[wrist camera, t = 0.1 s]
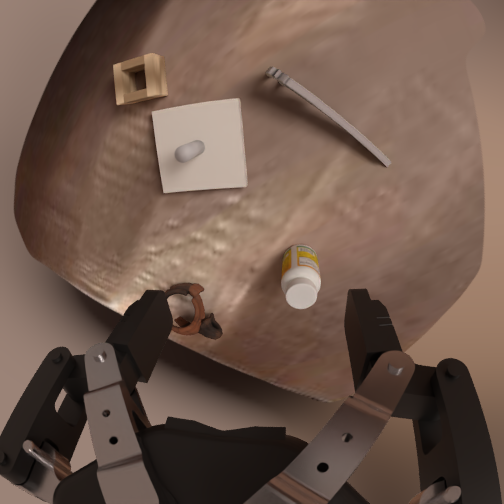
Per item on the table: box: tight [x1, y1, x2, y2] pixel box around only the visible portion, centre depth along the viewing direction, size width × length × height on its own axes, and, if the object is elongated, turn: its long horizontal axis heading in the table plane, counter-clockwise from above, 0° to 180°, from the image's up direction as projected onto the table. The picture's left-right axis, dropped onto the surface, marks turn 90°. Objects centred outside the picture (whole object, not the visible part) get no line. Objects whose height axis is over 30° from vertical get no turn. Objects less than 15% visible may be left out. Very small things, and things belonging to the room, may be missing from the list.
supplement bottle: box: [281, 245, 321, 309], centre depth 40 cm, size 5×5×10 cm
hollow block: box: [113, 53, 168, 105], centre depth 31 cm, size 6×6×4 cm
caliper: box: [266, 67, 391, 167], centre depth 31 cm, size 20×1×6 cm, turn 56°
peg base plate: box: [152, 98, 248, 193], centre depth 34 cm, size 12×12×8 cm
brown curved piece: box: [165, 283, 223, 340], centre depth 48 cm, size 12×10×8 cm
